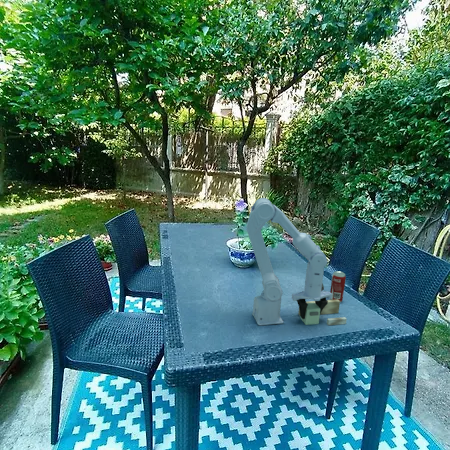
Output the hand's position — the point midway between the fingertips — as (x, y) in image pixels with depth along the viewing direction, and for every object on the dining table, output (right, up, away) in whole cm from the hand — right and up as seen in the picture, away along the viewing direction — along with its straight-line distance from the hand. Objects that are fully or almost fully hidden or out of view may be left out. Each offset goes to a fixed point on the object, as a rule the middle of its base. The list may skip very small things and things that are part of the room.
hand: (309, 316), depth 106 cm
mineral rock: (+8, +4, +25) cm, 26 cm away
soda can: (+16, +2, +17) cm, 23 cm away
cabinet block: (0, -2, 0) cm, 2 cm away
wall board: (+6, -1, +2) cm, 6 cm away
